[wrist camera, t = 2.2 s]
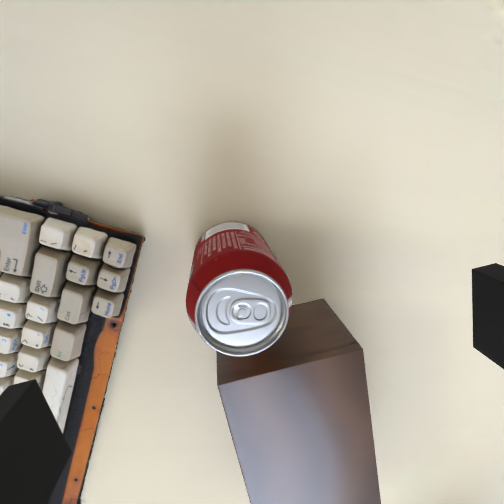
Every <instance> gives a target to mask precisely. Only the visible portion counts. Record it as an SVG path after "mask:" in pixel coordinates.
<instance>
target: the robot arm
mask: <svg viewBox="0 0 504 504" xmlns="http://www.w3.org/2000/svg"><path fill="white" fill-rule="evenodd" d="M472 305H473V347H474V348H475V349H477V350H478V351H480V352H481V353H482V354H484V355H485V356H486V357H488V358H489V359H491V360H492V361H493V362H495V363H496V364H497V365H499V366H500V367H501V368H503V369H504V266H502V265H499V264H497V263H495V264H491V265H487V266H483V267H479V268H475V269H472ZM71 453H72V452H71V450H70V448H69V446H68V444H67V442H66V439H65V437H64V435H63V433H62V431H61V429H60V427H59V425H58V423H57V421H56V419H55V417H54V415H53V413H52V411H51V409H50V407H49V405H48V403H47V401H46V399H45V397H44V395H43V393H42V391H41V389H40V387H39V385H38V383H37V381H36V379H34V380H30V381H26V382H22V383H18V384H14V385H10V386H8V387H7V388H6V389H5V390H4V391H3V393H2V394H1V395H0V504H47V503H48V501H49V499H50V497H51V495H52V493H53V490H54V488H55V486H56V484H57V482H58V480H59V478H60V476H61V474H62V472H63V470H64V468H65V466H66V464H67V462H68V459H69V457H70V455H71Z"/></svg>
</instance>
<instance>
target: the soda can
mask: <svg viewBox="0 0 504 504" xmlns="http://www.w3.org/2000/svg"><path fill="white" fill-rule="evenodd" d="M291 307H292V289H291V285H290V282H289V280H288V278H287V276H286V274H285V272H284V271H283V269H282V267H281V266H280V264H279V263H278V261H277V259H276V258H275V256H274V255H273V253H272V251H271V250H270V248H269V247H268V245H267V244H266V242H265V240H264V239H263V237H262V236H261V235H260V233H259V232H258V231H256V230H255V229H254V228H252V227H251V226H249V225H246V224H244V223H240V222H224V223H220V224H217V225H215V226H213V227H211V228H210V229H209V230H207V231H206V232H205V233H204V234H203V235H202V236H201V238H200V239H199V241H198V243H197V245H196V248H195V252H194V258H193V263H192V268H191V273H190V279H189V284H188V289H187V295H186V308H187V313H188V316H189V319H190V321H191V323H192V325H193V327H194V328H195V330H196V331H197V332H198V333H199V334H200V336H201V337H202V339H203V340H204V341H205V342H206V343H207V344H208V345H209V346H210V347H211V348H213V349H214V350H216V351H218V352H220V353H223V354H226V355H230V356H249V355H253V354H257V353H259V352H262V351H263V350H265V349H267V348H269V347H270V346H271V345H273V344H274V343H275V342H276V341H277V340H278V339H279V337H280V336H281V335H282V333H283V332H284V330H285V327H286V325H287V322H288V317H289V314H290V311H291Z"/></svg>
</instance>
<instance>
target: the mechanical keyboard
mask: <svg viewBox="0 0 504 504" xmlns="http://www.w3.org/2000/svg"><path fill="white" fill-rule="evenodd" d="M12 198H14V199H12ZM144 241H145V237H144V236H142V235H139V234H136V233H132V232H128V231H124V230H120V229H116V228H113V227H110V226H106V225H102V224H99V223H95V222H92V221H90V218H89V217H88V216H86V215H84V214H83V213H81V212H78V211H74V210H71V209H68V208H66V207H64V206H63V204H62V203H60V202H48V201H45V200H41V199H39V200H37V201H33V200H32V202H29V201H26V200H23V199H18V198H15V197H9V196H4V197H0V395H1V394H2V393H3V391H4V390H5V389H6V388H7V387H8V386H10V385H14V384H18V383H22V382H26V381H30V380H34V379H36V381H37V383H38V385H39V387H40V389H41V391H42V393H43V395H44V397H45V399H46V401H47V403H48V405H49V407H50V409H51V411H52V413H53V415H54V417H55V419H56V421H57V423H58V425H59V427H60V429H61V431H62V433H63V435H64V437H65V439H66V442H67V444H68V446H69V448H70V450H71V452H72V453H71V455H70V457H69V459H68V462H67V464H66V466H65V468H64V470H63V472H62V474H61V476H60V478H59V480H58V482H57V484H56V486H55V488H54V490H53V493H52V495H51V497H50V499H49V501H48V503H47V504H80V496H81V493H82V489H83V484H84V479H85V476H86V472H87V468H88V462H89V459H90V456H91V453H92V448H93V442H94V439H95V435H96V431H97V426H98V422H99V418H100V415H101V411H102V407H104V406H103V404H104V400H105V398H104V395H105V393H106V389H107V384H108V380H109V378H110V373H111V369H112V364H113V360H114V357H115V354H116V353H115V350H116V349H117V344H118V339H119V334H120V331H121V327H122V323H123V321H124V316H125V311H126V306H127V302H128V298H129V294H130V292H131V286H132V283H133V279H134V274H135V271H136V266H137V262H138V258H139V254H140V250H141V246H142V243H143V242H144ZM113 323H115V324H116V326H114V325H113Z"/></svg>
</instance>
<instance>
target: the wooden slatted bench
mask: <svg viewBox="0 0 504 504" xmlns="http://www.w3.org/2000/svg"><path fill="white" fill-rule="evenodd" d="M217 386H218V389H219V393H220V396H221V400H222V403H223V407H224V410H225V414H226V418H227V421H228V425H229V428H230V432H231V435H232V439H233V442H234V446H235V449H236V453H237V457H238V460H239V464H240V467H241V471H242V474H243V478H244V481H245V485H246V488H247V492H248V496H249V499H250V503H251V504H381V500H380V492H379V483H378V475H377V466H376V458H375V449H374V441H373V432H372V424H371V415H370V407H369V398H368V390H367V381H366V373H365V364H364V356H363V349H362V347H361V346H360V345H359V343H358V342H357V341H356V340H355V338H354V337H353V336H352V334H351V333H350V332H349V331H348V329H347V328H346V327H345V325H344V324H343V323H342V322H341V320H340V319H339V318H338V317H337V315H336V314H335V313H334V311H333V310H332V309H331V308H330V306H329V305H328V304H327V303H326V301H325V300H324V299H321V300H316V301H312V302H308V303H304V304H300V305H296V306H292V307H291V311H290V314H289V317H288V322H287V325H286V327H285V330H284V332H283V333H282V335H281V336H280V337H279V339H278V340H277V341H276V342H275V343H274V344H273V345H271V346H270V347H269V348H267V349H265V350H263V351H262V352H259V353H257V354H253V355H249V356H230V355H226V354H223V353H220V352H218V351H217Z"/></svg>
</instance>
